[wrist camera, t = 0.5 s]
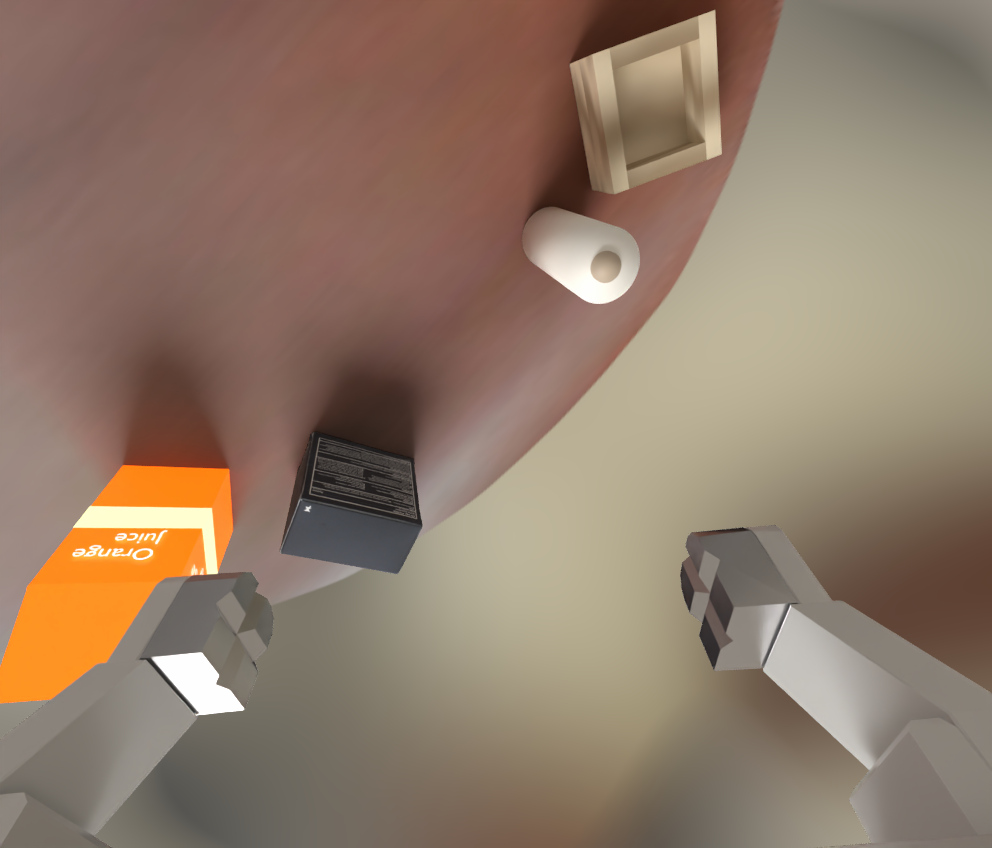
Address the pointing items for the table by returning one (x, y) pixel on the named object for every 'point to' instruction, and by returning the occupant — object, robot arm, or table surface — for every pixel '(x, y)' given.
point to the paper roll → (582, 253)
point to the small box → (353, 506)
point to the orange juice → (114, 572)
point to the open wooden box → (650, 105)
